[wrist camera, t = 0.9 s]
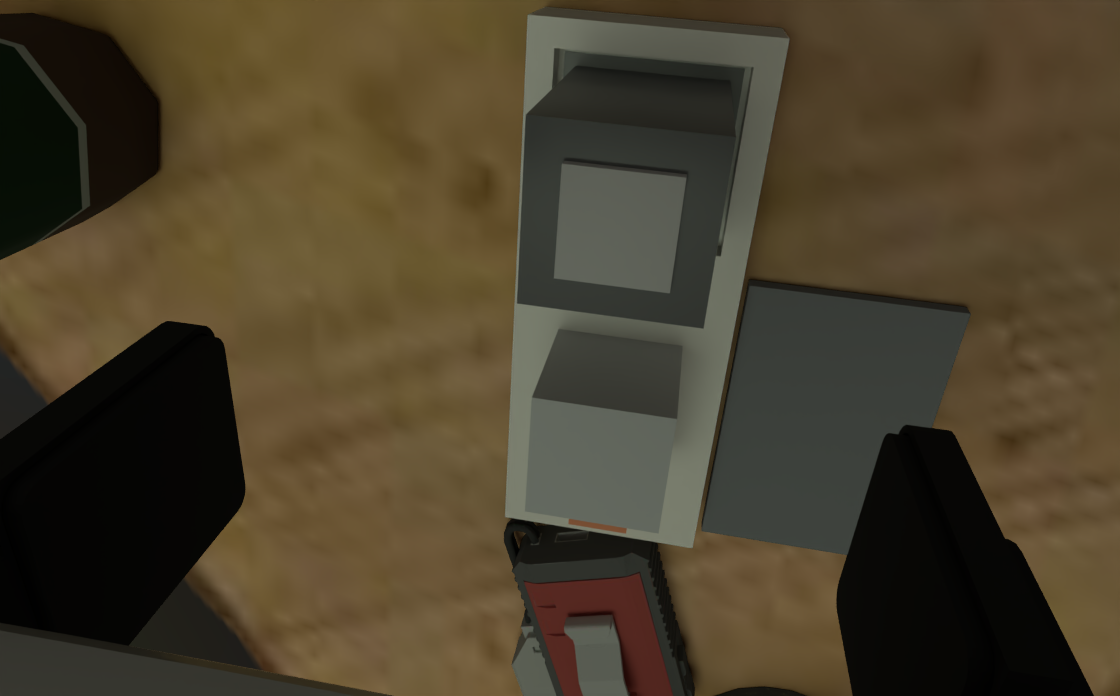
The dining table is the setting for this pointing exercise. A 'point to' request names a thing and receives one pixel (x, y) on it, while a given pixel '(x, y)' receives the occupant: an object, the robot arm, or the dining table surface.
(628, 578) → the walkie-talkie
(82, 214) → the beer bottle
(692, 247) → the block
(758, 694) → the thermos
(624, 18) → the power strip
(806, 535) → the mat
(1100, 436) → the dining table surface
